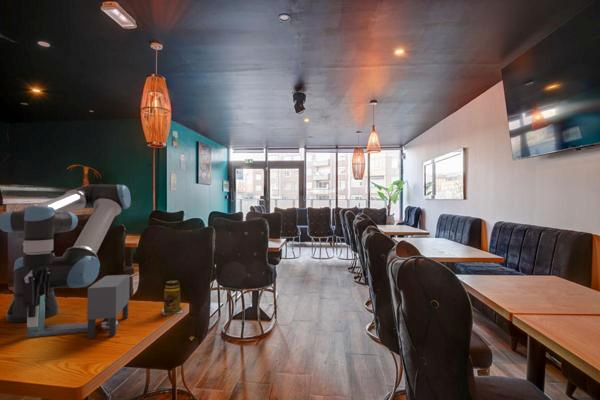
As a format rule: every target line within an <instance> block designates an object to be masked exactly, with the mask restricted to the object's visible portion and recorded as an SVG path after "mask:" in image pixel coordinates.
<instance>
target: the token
mask: <svg viewBox="0 0 600 400" xmlns="http://www.w3.org/2000/svg"><path fill="white" fill-rule="evenodd" d="M100 326H101V327H100V329H101V330H103V331H109V320H105V321H102V322H101V324H100ZM118 327H119V320H118V319H116V328H118Z"/></svg>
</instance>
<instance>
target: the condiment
mask: <svg viewBox="0 0 600 400" xmlns="http://www.w3.org/2000/svg"><path fill="white" fill-rule="evenodd" d="M164 284H165V286H164V287H165V288H164V289H163V308H161V310H162V316H167V315H174V314H181V313H183V308H182V305H181V288H180V281H179V280H166V282H165V283H164Z"/></svg>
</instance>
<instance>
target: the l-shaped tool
mask: <svg viewBox="0 0 600 400" xmlns="http://www.w3.org/2000/svg"><path fill="white" fill-rule="evenodd" d="M37 306H39V321H38V326H37V327H27V331H26V332H25V339H26V338H34V337H35V338H36V337H45V336H46V337H47V336H56V335H68V334H78V333H88V321H86V322H77V323H76V322H75V323H66V324H55V325H53V324H52V325H51V324H50V325H45V318H44V309H45V294H39V295H38V304H37ZM96 327H97V321H95V328H96Z"/></svg>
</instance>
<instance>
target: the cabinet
mask: <svg viewBox="0 0 600 400" xmlns="http://www.w3.org/2000/svg"><path fill="white" fill-rule="evenodd" d="M130 276H131V275H130V274H117V275H116V274H114V275H105V276H104V277H102V278H101V279H99V280H97V282H94V283H92V285H89V287H87V302H86V303H87V307H86V310H87V311H86V314H87V315H86V320H87V322H88V332H87V339H89V340H90V339H94V338H95V337H96V327H95V322H97V321H96V320H102V319H103V322H105V321H108V320H109V330H108V337H115V336H116V335H117V327H116V320H117V317H118V316H119V314H120V313H121V311H122V314H121V315H122V318H121V319H122V320H124V319H128V318H129V302H130V289H131V288H130V285H131V284H130V283H131V281H130V280H131V279H130V278H131V277H130Z"/></svg>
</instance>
